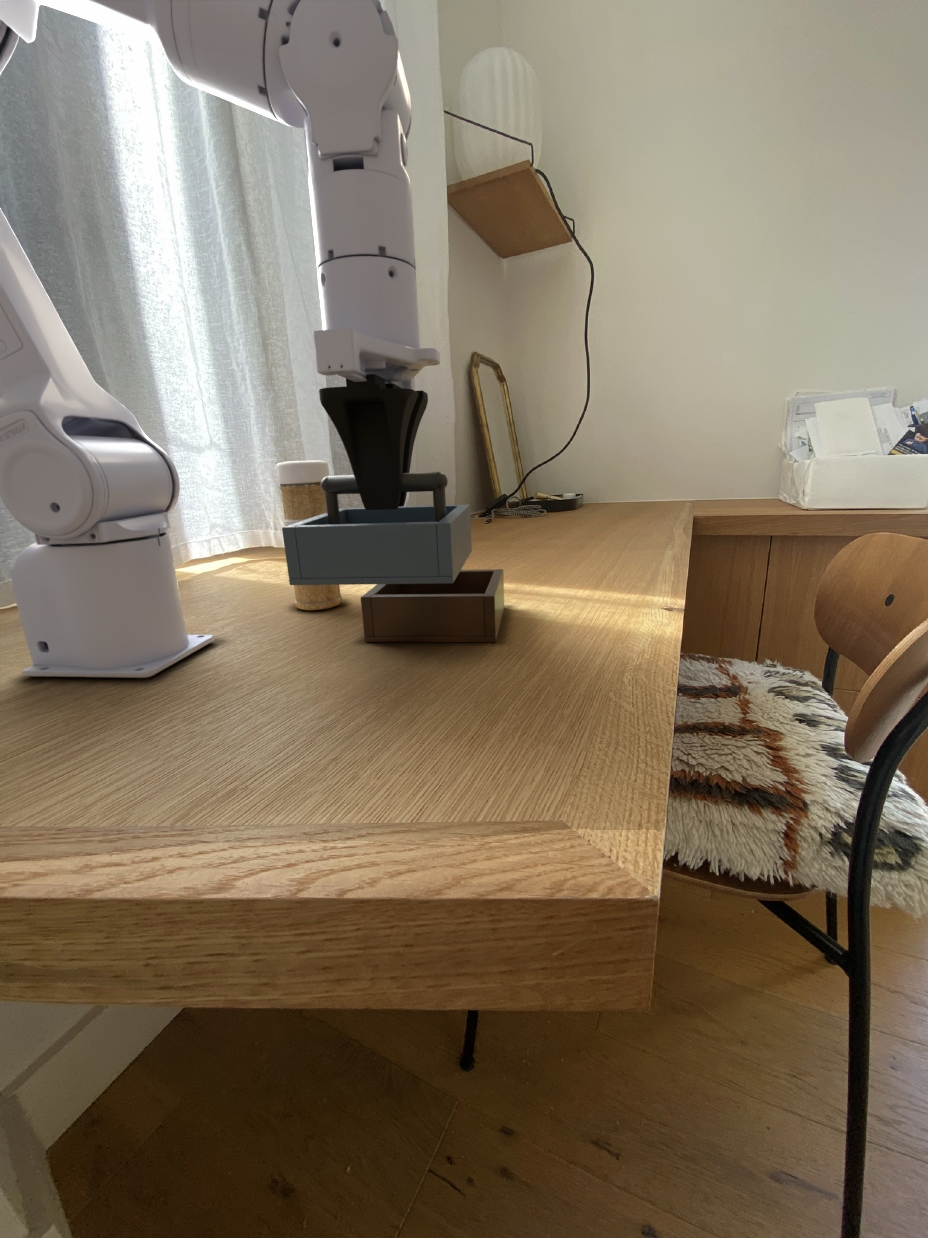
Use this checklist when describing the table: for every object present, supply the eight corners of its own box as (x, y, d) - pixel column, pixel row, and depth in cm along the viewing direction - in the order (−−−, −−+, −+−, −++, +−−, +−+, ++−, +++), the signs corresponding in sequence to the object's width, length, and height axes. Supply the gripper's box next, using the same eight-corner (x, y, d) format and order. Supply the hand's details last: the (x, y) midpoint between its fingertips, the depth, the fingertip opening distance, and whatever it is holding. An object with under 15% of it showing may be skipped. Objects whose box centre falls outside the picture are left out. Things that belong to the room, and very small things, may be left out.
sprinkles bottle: (349, 605, 53) (335, 459, 49) (302, 614, 51) (283, 461, 47) (332, 597, 57) (317, 460, 53) (288, 604, 54) (269, 462, 51)
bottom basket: (364, 641, 42) (360, 597, 41) (396, 607, 52) (393, 570, 51) (495, 642, 41) (494, 596, 40) (504, 607, 50) (503, 569, 49)
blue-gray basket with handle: (289, 585, 34) (275, 481, 32) (343, 554, 43) (334, 472, 41) (453, 583, 32) (447, 475, 30) (471, 551, 42) (468, 467, 40)
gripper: (406, 215, 25) (424, 518, 29) (452, 300, 39) (460, 497, 43) (259, 230, 26) (295, 521, 30) (355, 307, 40) (371, 500, 44)
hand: (385, 508), depth 36 cm, fingers closed on blue-gray basket with handle
